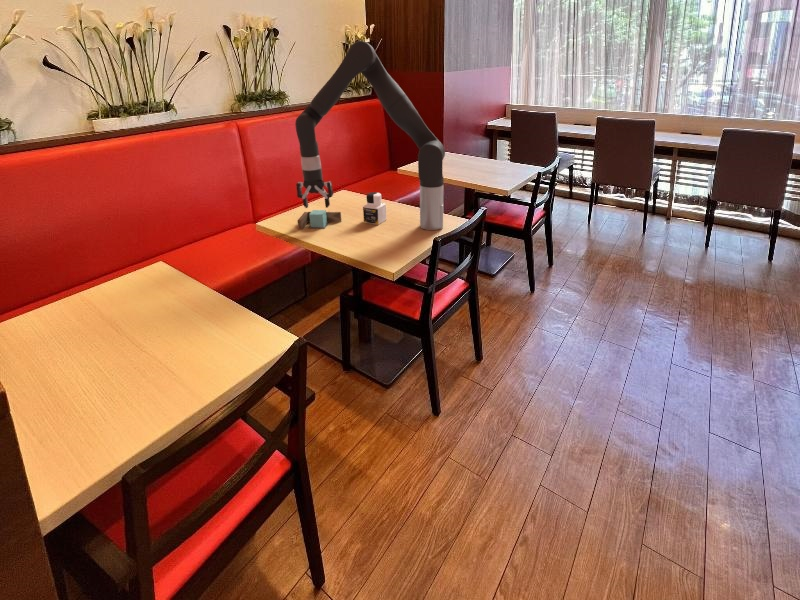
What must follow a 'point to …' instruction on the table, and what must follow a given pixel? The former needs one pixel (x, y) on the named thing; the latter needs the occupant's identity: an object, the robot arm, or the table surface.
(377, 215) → the medicine bottle
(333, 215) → the arena
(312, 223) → the block
